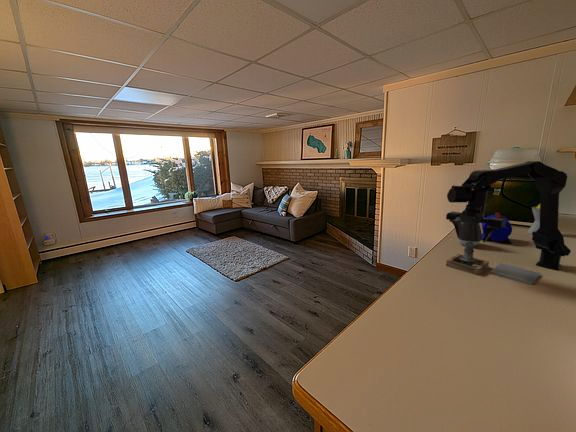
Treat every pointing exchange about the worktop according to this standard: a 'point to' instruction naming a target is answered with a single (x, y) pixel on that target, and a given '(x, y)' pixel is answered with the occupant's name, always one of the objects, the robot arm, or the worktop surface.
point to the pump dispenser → (470, 233)
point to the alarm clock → (498, 230)
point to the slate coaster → (515, 273)
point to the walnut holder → (454, 264)
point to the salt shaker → (468, 255)
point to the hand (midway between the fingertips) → (470, 239)
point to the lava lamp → (536, 223)
